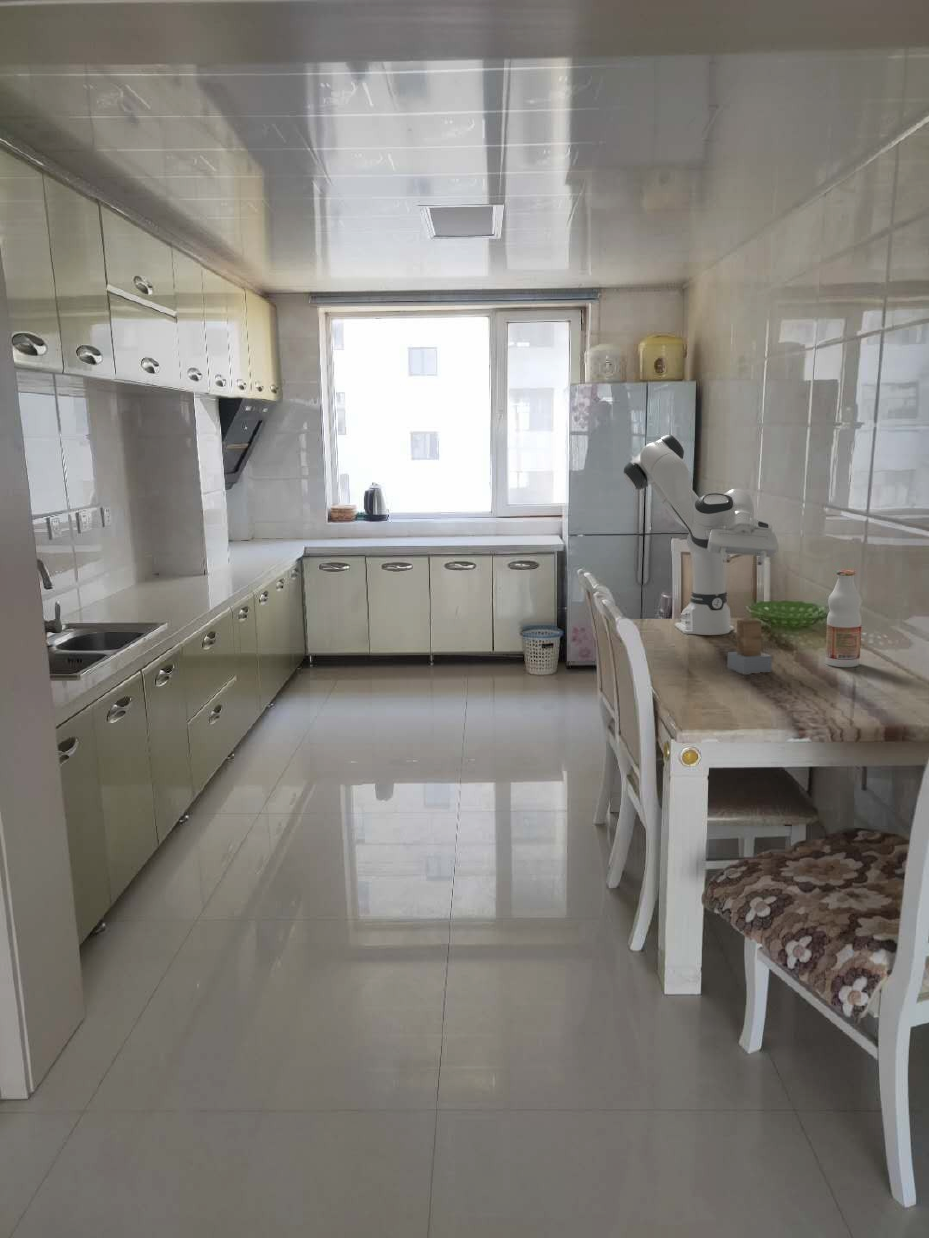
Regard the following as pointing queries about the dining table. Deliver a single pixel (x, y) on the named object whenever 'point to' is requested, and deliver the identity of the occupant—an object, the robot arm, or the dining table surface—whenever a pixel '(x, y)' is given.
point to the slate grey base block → (749, 663)
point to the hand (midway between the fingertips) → (743, 562)
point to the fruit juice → (844, 622)
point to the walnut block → (749, 637)
